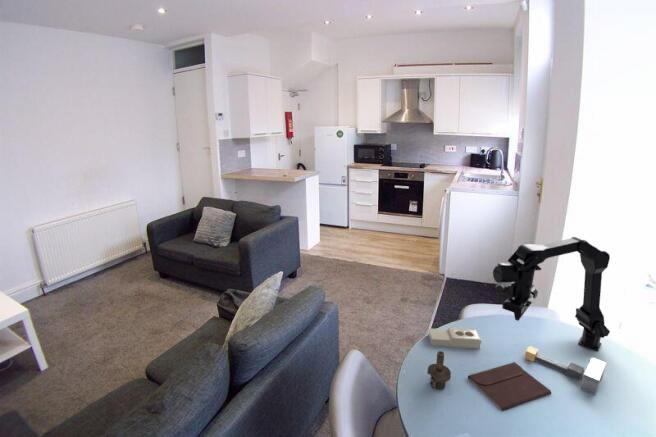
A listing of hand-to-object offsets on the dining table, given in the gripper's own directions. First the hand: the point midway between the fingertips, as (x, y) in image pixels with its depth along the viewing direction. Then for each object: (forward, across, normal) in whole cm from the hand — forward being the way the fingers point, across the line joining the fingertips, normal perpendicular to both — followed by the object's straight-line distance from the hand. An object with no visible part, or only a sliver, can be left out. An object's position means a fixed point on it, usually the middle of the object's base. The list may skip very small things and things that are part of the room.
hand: (517, 319), depth 135 cm
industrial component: (+13, +37, -11) cm, 41 cm away
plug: (+13, 0, +14) cm, 18 cm away
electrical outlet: (+13, +11, -18) cm, 25 cm away
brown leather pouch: (+13, +21, +6) cm, 25 cm away
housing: (+12, 0, +25) cm, 28 cm away
